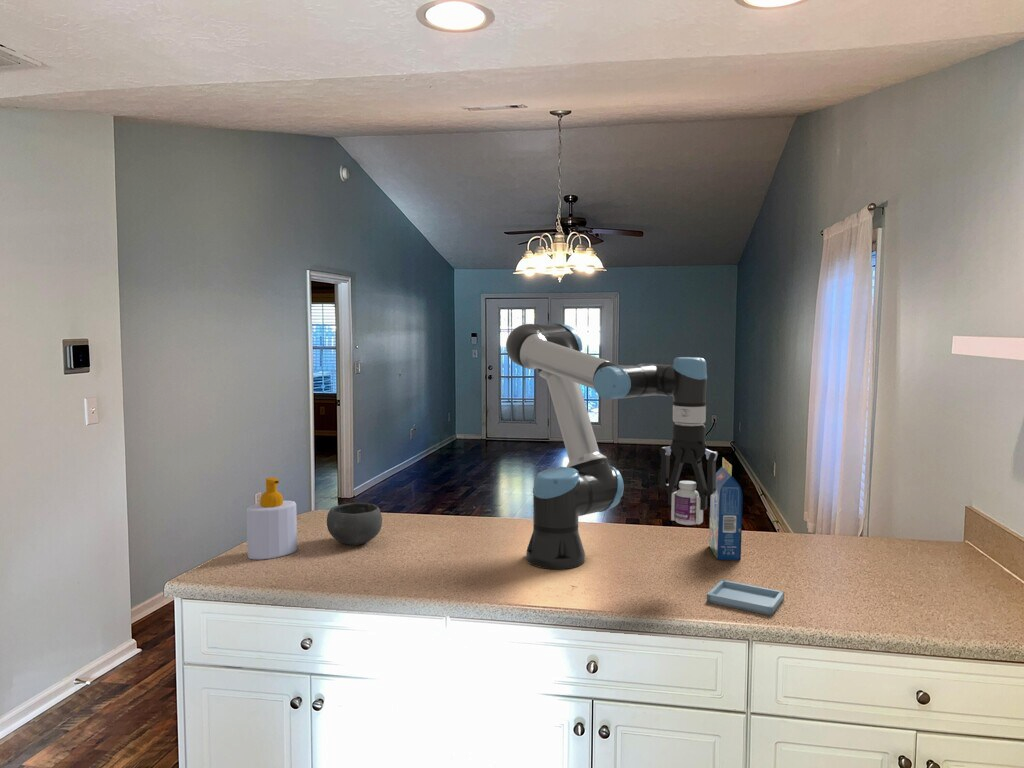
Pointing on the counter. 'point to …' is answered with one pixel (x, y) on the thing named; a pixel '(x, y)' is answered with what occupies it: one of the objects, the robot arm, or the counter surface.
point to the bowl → (354, 522)
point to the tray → (746, 597)
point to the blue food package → (726, 515)
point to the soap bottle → (271, 525)
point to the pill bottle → (686, 503)
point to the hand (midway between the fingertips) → (686, 520)
